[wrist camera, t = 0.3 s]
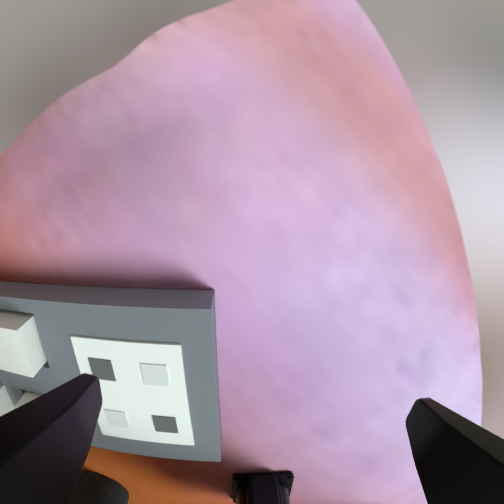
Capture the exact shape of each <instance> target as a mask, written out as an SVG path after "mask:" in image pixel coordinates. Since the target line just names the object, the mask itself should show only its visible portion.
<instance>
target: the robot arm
mask: <svg viewBox="0 0 504 504" xmlns="http://www.w3.org/2000/svg"><path fill="white" fill-rule="evenodd" d="M101 407H102V393H101V387H100V381H99V378H98V377H97V376H95V375H91V374H87V373H83V374H81V375H79V376H77V377H75V378H73V379H71V380H69V381H68V382H66V383H64V384H62V385H60V386H58V387H56V388H54V389H52V390H50V391H49V392H47V393H45V394H43V395H41V396H39V397H37V398H35V399H33V400H31V401H29V402H27V403H25V404H23V405H21V406H20V407H18V408H16V409H14V410H12V411H10V412H8V413H6V414H4V415H2V416H0V504H69V501H70V499H71V496H72V493H73V491H74V488H75V485H76V483H77V480H78V478H79V475H80V473H81V470H82V468H83V465H84V463H85V460H86V458H87V455H88V452H89V450H90V446H91V443H92V439H93V435H94V432H95V428H96V425H97V421H98V418H99V414H100V411H101ZM406 428H407V432H408V437H409V441H410V445H411V449H412V454H413V458H414V462H415V466H416V469H417V472H418V475H419V478H420V481H421V484H422V487H423V490H424V493H425V497H426V500H427V503H428V504H504V439H502V438H500V437H499V436H497V435H495V434H493V433H491V432H489V431H488V430H486V429H484V428H482V427H480V426H478V425H477V424H475V423H473V422H471V421H469V420H468V419H466V418H464V417H462V416H461V415H459V414H457V413H455V412H454V411H452V410H450V409H448V408H446V407H445V406H443V405H441V404H440V403H438V402H436V401H434V400H433V399H431V398H420V399H417V400H416V401H415V403H414V405H413V407H412V409H411V411H410V412H409V414H408V416H407V418H406ZM293 479H294V475H293V473H292V472H286V473H269V474H234V475H232V490H233V502H234V503H236V504H290V499H289V497H290V492H291V488H292V483H293Z"/></svg>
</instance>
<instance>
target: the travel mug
mask: <svg viewBox="0 0 504 504" xmlns="http://www.w3.org/2000/svg"><path fill="white" fill-rule="evenodd" d="M128 499H129V494H128V492H127V490H126V489H125V488H124V487H123V486H122V485H120V484H119V483H117V482H116V481H114V480H112V479H110V478H108V477H106V476H103V475H100V474H97V473H93V472H81V473H80V475H79V478H78V480H77V483H76V485H75V488H74V491H73V493H72V496H71V499H70V501H69V504H128Z"/></svg>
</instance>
